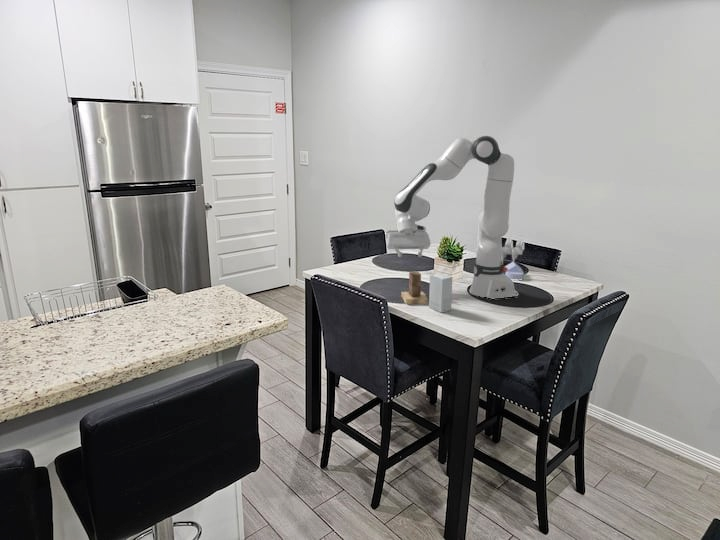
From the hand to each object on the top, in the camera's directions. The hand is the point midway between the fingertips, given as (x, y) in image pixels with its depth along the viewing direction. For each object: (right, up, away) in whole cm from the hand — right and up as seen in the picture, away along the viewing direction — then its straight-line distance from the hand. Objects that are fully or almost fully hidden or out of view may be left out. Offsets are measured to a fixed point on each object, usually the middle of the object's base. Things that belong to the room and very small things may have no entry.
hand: (410, 256), depth 220 cm
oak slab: (+1, -20, -6) cm, 21 cm away
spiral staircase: (+56, -4, +56) cm, 79 cm away
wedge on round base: (+58, -10, +34) cm, 68 cm away
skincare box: (+11, -23, -16) cm, 30 cm away
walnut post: (+1, -17, -7) cm, 19 cm away
